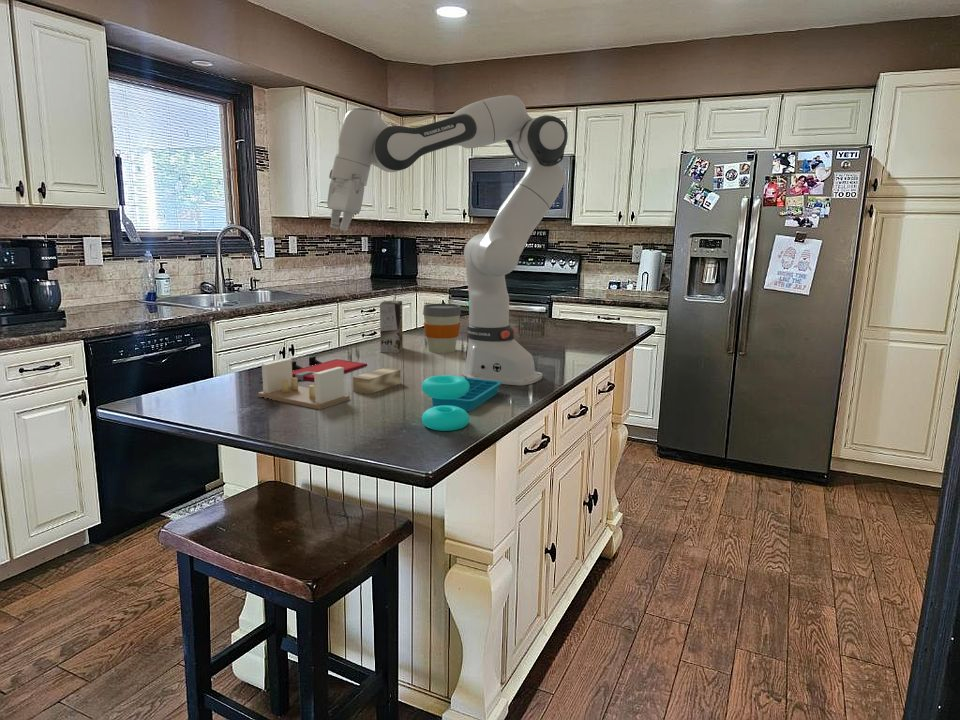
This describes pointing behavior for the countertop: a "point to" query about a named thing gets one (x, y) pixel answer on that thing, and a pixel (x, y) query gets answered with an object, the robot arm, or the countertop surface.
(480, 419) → the countertop surface
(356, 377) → the tan wooden block
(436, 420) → the donuts
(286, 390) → the cradle
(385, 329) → the coffee box
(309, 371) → the red board with handle
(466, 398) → the ice cube tray
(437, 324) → the reusable coffee cup
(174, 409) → the countertop surface
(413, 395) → the countertop surface
